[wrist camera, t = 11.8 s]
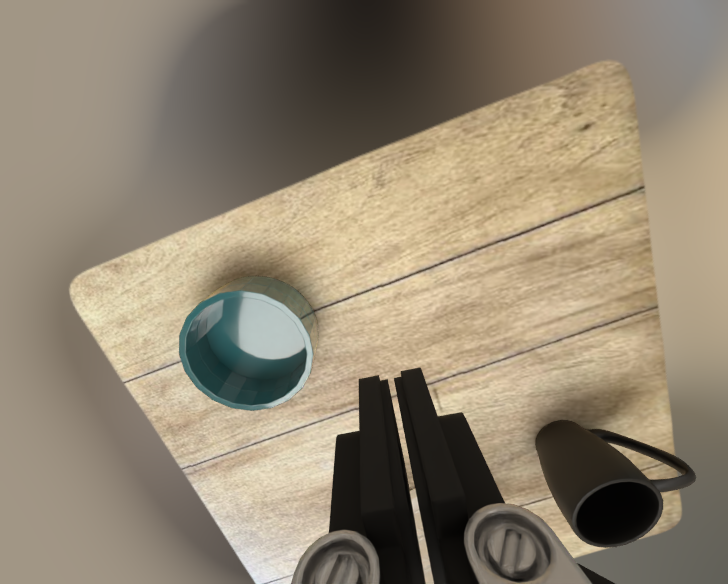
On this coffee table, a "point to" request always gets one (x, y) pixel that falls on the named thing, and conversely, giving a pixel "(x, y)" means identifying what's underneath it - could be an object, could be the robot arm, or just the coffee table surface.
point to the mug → (604, 482)
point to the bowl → (250, 343)
